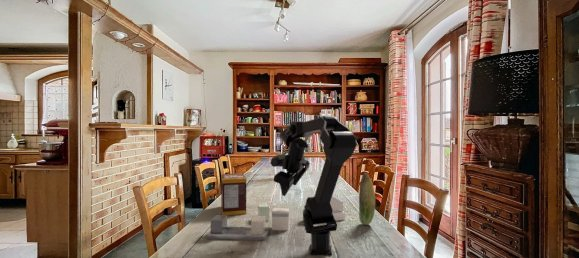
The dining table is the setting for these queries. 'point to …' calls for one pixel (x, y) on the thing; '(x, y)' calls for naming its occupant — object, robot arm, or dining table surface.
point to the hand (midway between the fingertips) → (289, 190)
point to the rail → (238, 229)
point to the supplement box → (233, 194)
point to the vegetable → (366, 200)
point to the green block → (263, 210)
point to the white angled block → (337, 209)
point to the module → (280, 219)
